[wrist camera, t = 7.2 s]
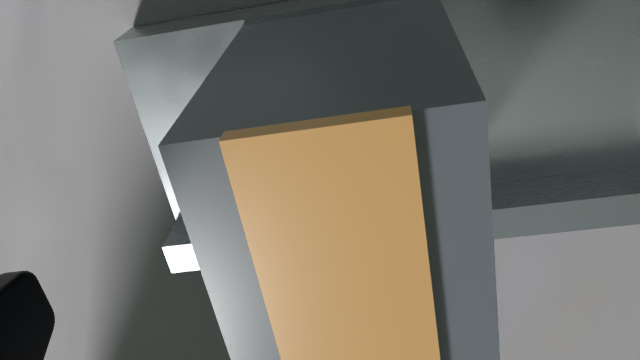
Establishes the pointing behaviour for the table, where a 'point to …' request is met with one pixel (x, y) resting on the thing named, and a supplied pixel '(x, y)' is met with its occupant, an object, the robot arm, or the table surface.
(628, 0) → the rail
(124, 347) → the table surface
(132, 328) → the table surface
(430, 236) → the block
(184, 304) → the table surface
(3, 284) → the robot arm
